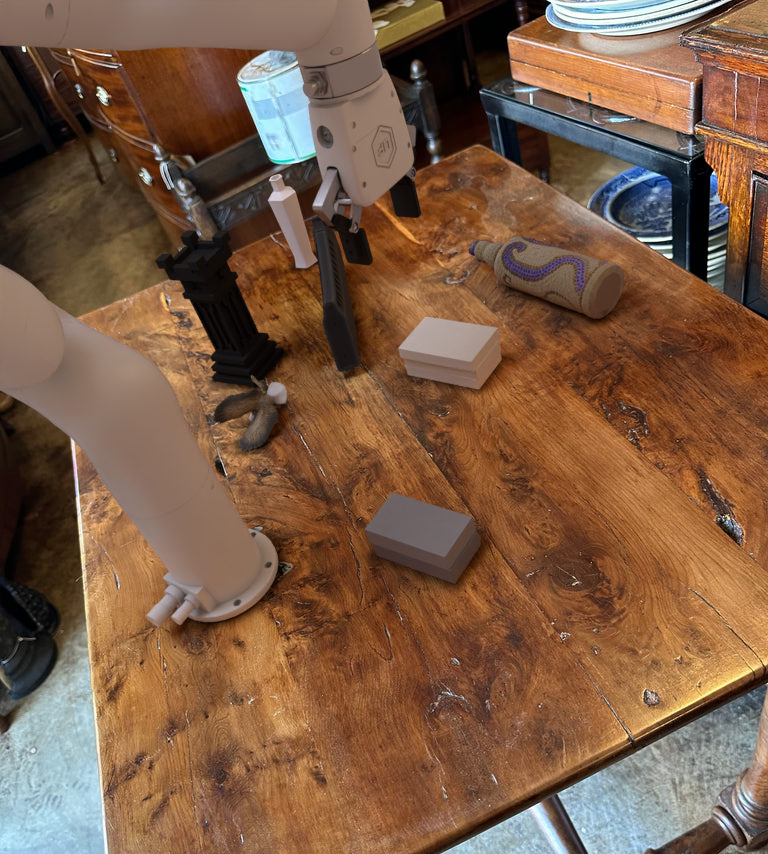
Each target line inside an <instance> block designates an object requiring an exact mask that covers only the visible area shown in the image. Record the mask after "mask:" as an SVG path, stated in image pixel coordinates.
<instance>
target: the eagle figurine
mask: <svg viewBox="0 0 768 854" xmlns="http://www.w3.org/2000/svg"><path fill="white" fill-rule="evenodd" d="M251 379H252V380H253V382H254V383H256V384H257V387H258V388H260V389H258V388H254V387H251V389H250V390H248V391H245V392H244V391H243V392H240V393H236V394H229V395H228V396H226V397H224V398H223V399H222V400H220V401H221V402H219V403H218V404H217V405H215V409H214V411H213V412H214V413H213V415H212V417H213V418H212V421H213V422H215V424H217V423H219V424H220V425H221V424H224V423H226V422H229V421H232V420H237V419H239V418H242V417H243V416H245V415H247V414H249V413H250V414H249V416H248V420H249V422H250V424H249V425H248V427H247V429H246V430H245V432H244V434H243V435H242V436H241V437H240V438H239V440H238V444H239V446H238V447H239V448H240V450H241V451H243V452H247V451H252V450H254V449H255V450H256V449H258V448H259V447H262V446H263V445H264V443H266V442H267V440H268V439H269V436H270V434H271V433H272V430H273V428H274V426H275V425H276V424H277V423H278V421H279V412H278V411H277V409H276V408H278V409H280V408H282V405H283V404H286V403H287V400H288V390H287V387H286V386H285V385H284V384H283V383H281V382H278V381H272V382H270V383H269V385H267V383H266V381H265V379H262V380H261V381H260V382H259V381H258V380H257V379H256V378H255V377H254V376H252V375H251Z"/></svg>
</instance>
